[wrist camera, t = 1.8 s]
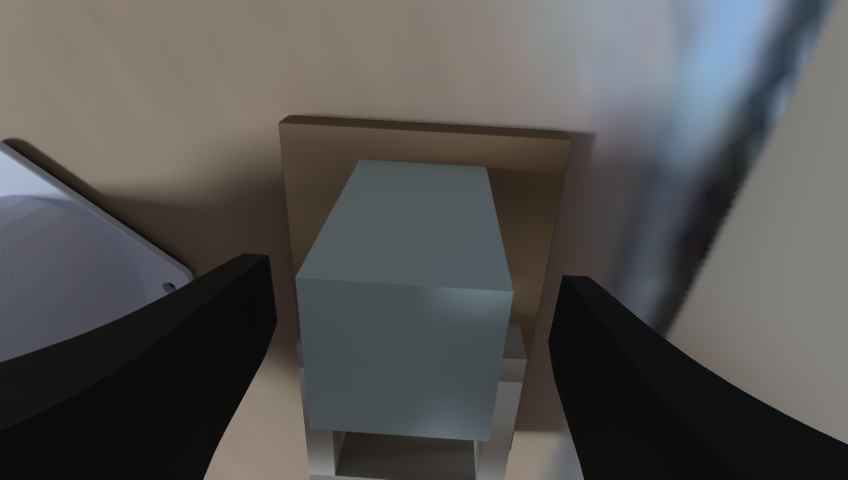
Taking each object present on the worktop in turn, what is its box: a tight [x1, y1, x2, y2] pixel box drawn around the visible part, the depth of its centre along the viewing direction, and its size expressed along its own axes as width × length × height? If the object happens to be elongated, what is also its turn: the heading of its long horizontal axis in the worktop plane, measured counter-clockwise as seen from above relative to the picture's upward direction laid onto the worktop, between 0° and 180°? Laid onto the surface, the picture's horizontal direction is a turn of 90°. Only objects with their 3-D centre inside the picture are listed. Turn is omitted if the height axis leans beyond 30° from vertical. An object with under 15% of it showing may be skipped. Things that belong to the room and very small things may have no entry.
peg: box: [295, 159, 513, 442], centre depth 13 cm, size 4×4×7 cm
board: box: [278, 116, 572, 480], centre depth 17 cm, size 14×9×4 cm, turn 177°
